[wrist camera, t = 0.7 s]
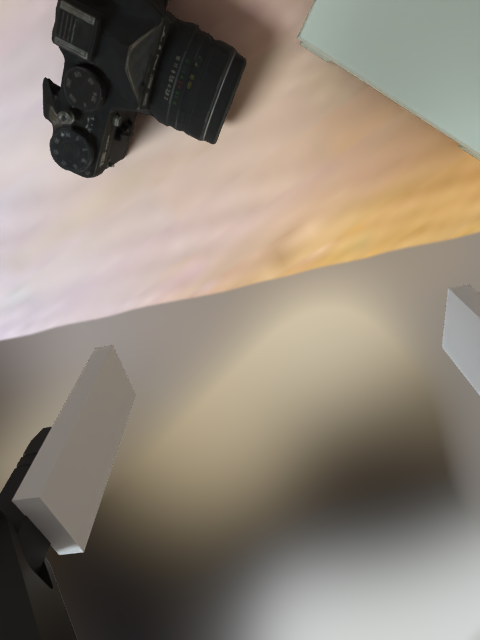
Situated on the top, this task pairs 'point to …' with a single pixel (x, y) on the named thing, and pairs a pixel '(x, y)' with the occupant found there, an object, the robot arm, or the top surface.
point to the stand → (408, 56)
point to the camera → (132, 79)
